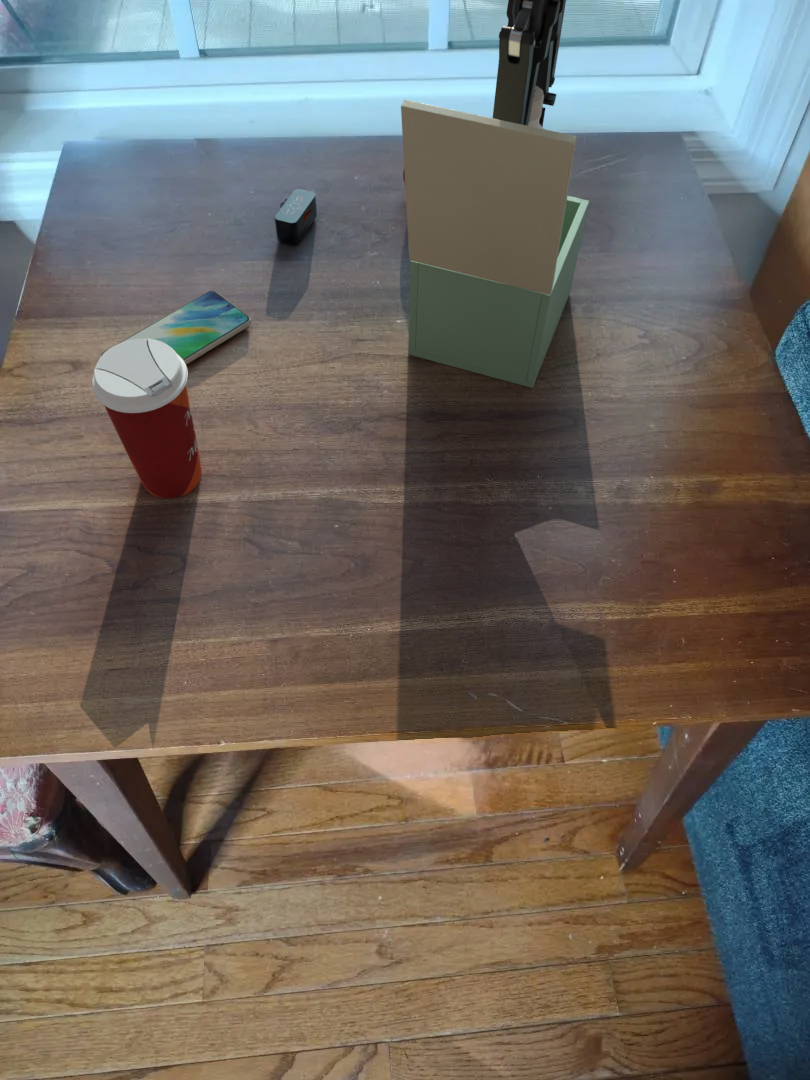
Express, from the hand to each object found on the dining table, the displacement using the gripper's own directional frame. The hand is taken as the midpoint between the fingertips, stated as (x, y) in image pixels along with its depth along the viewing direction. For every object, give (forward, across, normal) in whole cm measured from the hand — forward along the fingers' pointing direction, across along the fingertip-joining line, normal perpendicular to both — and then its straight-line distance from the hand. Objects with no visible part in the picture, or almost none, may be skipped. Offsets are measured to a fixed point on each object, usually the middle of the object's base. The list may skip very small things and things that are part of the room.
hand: (512, 188), depth 82 cm
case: (+15, +2, 0) cm, 15 cm away
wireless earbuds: (+15, -6, -27) cm, 32 cm away
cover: (-5, +11, 0) cm, 12 cm away
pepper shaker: (0, 0, 0) cm, 0 cm away
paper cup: (+15, +33, -22) cm, 42 cm away
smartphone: (+15, +17, -30) cm, 38 cm away
